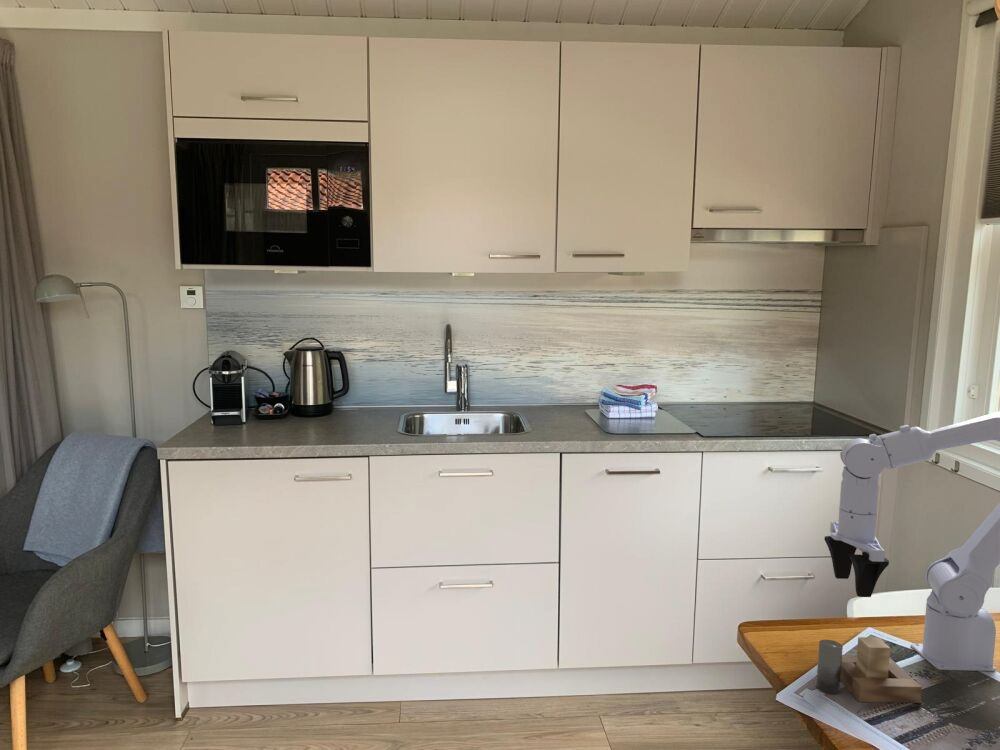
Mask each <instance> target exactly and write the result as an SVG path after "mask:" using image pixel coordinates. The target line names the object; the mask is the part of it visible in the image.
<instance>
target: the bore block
mask: <svg viewBox="0 0 1000 750" xmlns="http://www.w3.org/2000/svg"><path fill="white" fill-rule="evenodd" d="M856 660H857V654H854V655H853V654H842V663H841V676H840V683H842V684H843V686H845V688H846V689H847V690H848V691H849V692H850V693H851V694H852V695H853V697H854V698H855V699H856V700H857V701H858V702H859V703H861V702H862V703H894V704H895V703H897V704H898V703H900V704H901V703H904V704H905V703H906V704H907V703H908V704H910V703H911V704H921V700H922V699H921V698H922V689H923V688H922V686H921V685H920V684H919V683H918V682H917V681H916V680H915V679H914V678H913V677H912V676H911V675H910V674H908V673H907V672H906V671H905V670H904V669H903V668H902V666H900V665H898V663H897V662H895V660H893V659H892V658H891V657H890V659H889V671H888V678H867V677H866V676H865V675H864V674H863V673H862V672H861V671H860V670H859V669H858V668H857V667H856Z"/></svg>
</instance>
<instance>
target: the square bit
mask: <svg viewBox="0 0 1000 750" xmlns="http://www.w3.org/2000/svg"><path fill="white" fill-rule="evenodd" d="M856 648H857V649H856V655H857V660H856V667H857V668H858V669H859V670H860V671H861V672H862V673H863V674H864V675H865V676H866V677H867V678H888V671H889V659H890V658H891V656H890V655H891V647H890V646H889V645H888V644H886V642H885V641H883V640H882V639H881V638H880V637H868V636H866V637H865V636H859V637H857V646H856Z"/></svg>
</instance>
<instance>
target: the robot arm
mask: <svg viewBox="0 0 1000 750" xmlns="http://www.w3.org/2000/svg"><path fill="white" fill-rule="evenodd" d="M868 437H869V440H868V439H865V438H861V437H860V438H854V439H851V440H849V441H847V443H845V444H844V445H843V447H842V449H841V451H840V452H839V455H840V460H841V462H842V463H843V465H844V466H843V470H842V474H841V476H842V480H841V482H840V494H839V507H838V508H839V509H838V511H839V512H838V521H830V526H829V527H830V528H829V532H830V535H826V536H824V539H823V540H824V541H825V543H826V546H827V548H828V550H829V554H830V557H831V562H832V568H833V569H832V570H833V573H834V577H835V579H840V580H841V579H842V580H843V579H845V580H846V579H847V580H849V579H850V575H851V571H852V567H853V572H854V578H855V579H854V580H855V583H854V585H855V592H856V593H855V594H856V596H857V597H858V598H871V597H872V594H873V592H874V590H875V587H876V585H877V582H878V581H879V578H880V576H881V575H882V573H883V572H884V571H885V569H886V568H887V567H889V564H890V560H889V559H888V558H886V557H885V555H886V553H885V552H886V550H885V549H883V547H882V546H881V544H880V543H879V540H878V538H877V537H876V531H877V518H878V506H879V505H878V504H879V494H880V493H879V492H880V491H879V490H880V486H879V480H880V479H879V478H880V474H881V473H882V472H883V471H884V469H886V470H891V469H895V468H899V467H900V468H901V467H904V466H908V465H913V464H918V463H921V462H927V461H930V459H931V458H932V456H933V455H934V454H935V453H936V451H940V450H946V449H951V448H955V447H957V448H958V447H960V446H965V445H966V446H967V445H972V444H976V443H977V444H978V443H982V442H987V441H996V442H1000V410H999V411H996V412H993V413H989V414H985V415H982V416H977V417H975V418H974V417H973V418H971V419H968V420H963V421H960V422H956V423H953V424H950V425H946V426H942V427H939V428H936V429H932V430H925V429H924V428H921V427H920V426H912V427H911V426H909V425H908V424H905V425H900V426H899V430H897V431H892V432H887V433H884V434H879V435H877V434H876V433H872V434H869V436H868ZM857 550H858V551H860V552H861V554H856V551H857ZM999 565H1000V502H998V504H997V505H996V506H995V507H994V509H993V510H992V511H991V512H990V513H989V514H988V515H987V517H986V518H985V520H983V522H982V523H980V525H979V526H978V527H977V528H976V530H975V531H974V532H973V533H972V534H971V535H970V537H969V538H968V539H967V540H966V541H965V542H964V544H962V546H960V547H958V548H955V549H952V550H950V551H949V552H948V553H947V555H945V556H944V557H943V558H941V559H938V560H936V561H934V562H932V563H931V564H929V566H928V568H927V569H926V572H925V581H926V583H927V585H928V586H929V588H930V589H931V592H930V594H929V595H928V596H927V598H926V604H925V613H924V615H925V616H924V626H923V639H922V643H911V644H910V648H912V649H913V650H914V651H915V652H917V653H918V654H919V655H920V656H921V657H923V659H925V660H926V661H927V662H928V663H930V664H931V665H932V667H935V668H936V669H937V670H939V671H968V672H969V671H972V672H974V671H975V672H976V671H978V672H982V671H983V672H996V671H997V667H996V666H994V658H995V646H996V638H997V637H996V636H997V629H996V624H995V621H994V619H993V616H992V615H991V614H990V612H989V611H988V610H987V609H985V608H984V607H983V606H984V603H985V597H986V594H987V592H988V590H989V589H991V587H992V586H993V580H994V574H995V570H996V568H997V567H998V566H999Z"/></svg>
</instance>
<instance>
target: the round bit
mask: <svg viewBox="0 0 1000 750" xmlns="http://www.w3.org/2000/svg"><path fill="white" fill-rule="evenodd" d="M818 644H819V645H818V656H817V668H816V669H817V671H816V684H815V685H816V686H815V687H816V688H817V690H818V691H820V692H822V693H824V694H828V695H837V694H839V693H840V689H841V686H840V685H841V681H840V676H841V663H842V655H843V645H842V644H841V643H840V642H837V641H835V640H832V639H821V640H819V642H818Z"/></svg>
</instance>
